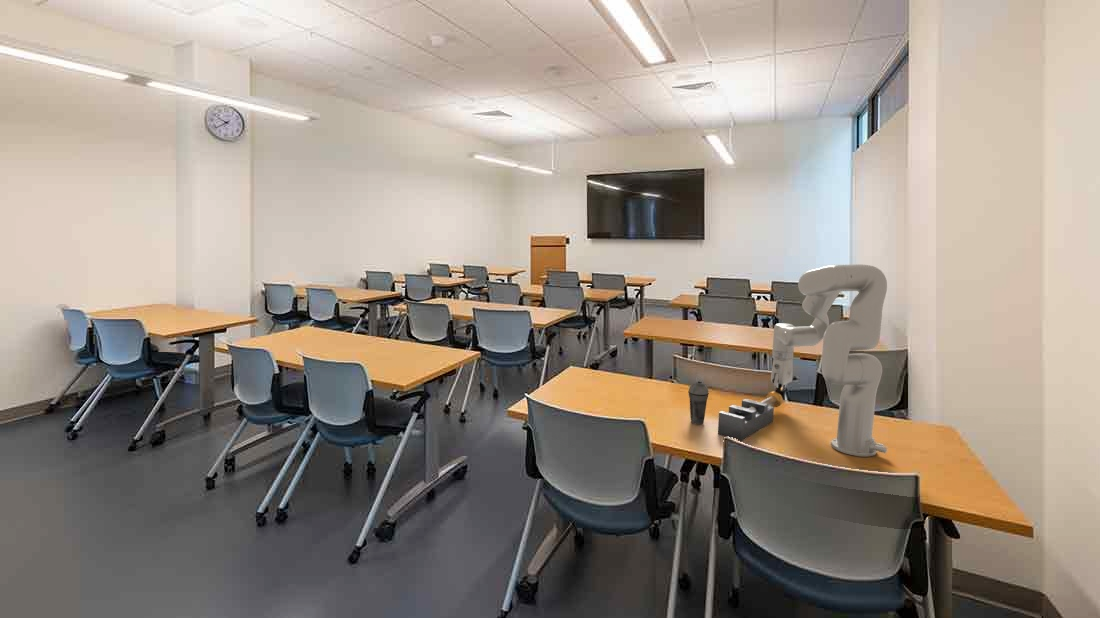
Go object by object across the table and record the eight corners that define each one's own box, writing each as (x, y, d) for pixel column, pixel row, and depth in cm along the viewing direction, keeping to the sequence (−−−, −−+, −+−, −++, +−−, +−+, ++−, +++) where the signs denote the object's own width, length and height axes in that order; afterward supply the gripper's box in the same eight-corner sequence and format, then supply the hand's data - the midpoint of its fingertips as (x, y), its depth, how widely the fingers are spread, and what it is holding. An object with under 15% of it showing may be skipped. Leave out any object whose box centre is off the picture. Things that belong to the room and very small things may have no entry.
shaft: (782, 408, 192) (783, 393, 191) (753, 424, 174) (754, 408, 174) (766, 404, 196) (767, 389, 195) (737, 420, 179) (738, 404, 178)
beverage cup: (709, 426, 179) (712, 373, 176) (689, 426, 179) (692, 372, 177) (704, 419, 186) (706, 367, 184) (684, 418, 187) (686, 367, 184)
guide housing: (772, 422, 183) (774, 400, 182) (741, 441, 166) (742, 417, 165) (750, 416, 189) (752, 395, 188) (717, 434, 172) (719, 411, 171)
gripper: (784, 359, 186) (781, 406, 189) (799, 353, 196) (796, 397, 199) (765, 356, 192) (762, 401, 194) (780, 350, 202) (777, 393, 204)
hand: (779, 399), depth 197 cm, fingers closed
